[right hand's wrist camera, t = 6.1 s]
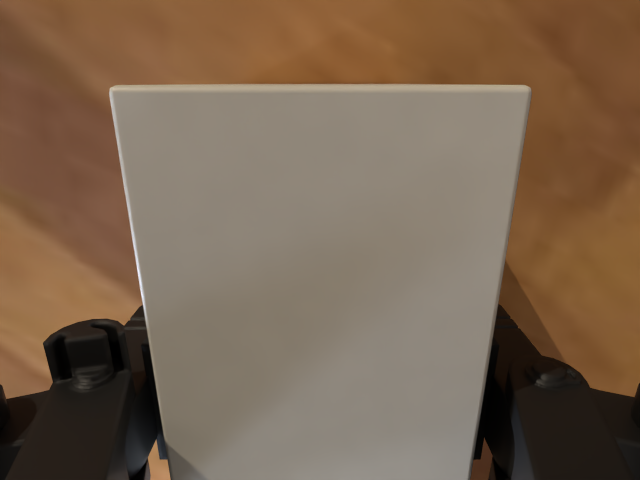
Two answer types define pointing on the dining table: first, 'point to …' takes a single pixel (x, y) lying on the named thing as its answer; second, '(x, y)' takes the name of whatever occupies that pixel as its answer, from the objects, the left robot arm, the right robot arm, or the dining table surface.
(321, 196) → the bar
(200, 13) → the dining table surface
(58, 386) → the right robot arm
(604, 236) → the dining table surface
